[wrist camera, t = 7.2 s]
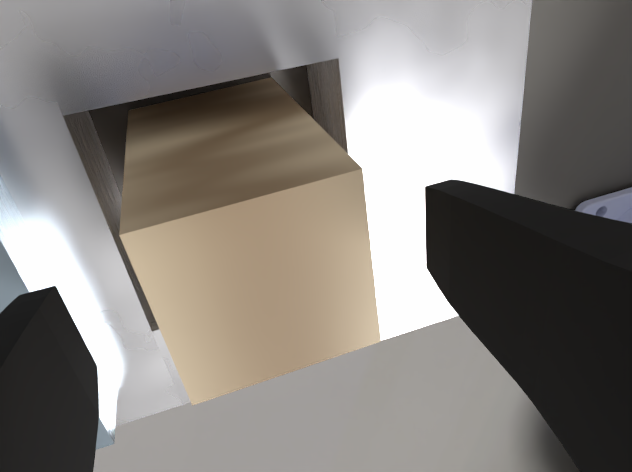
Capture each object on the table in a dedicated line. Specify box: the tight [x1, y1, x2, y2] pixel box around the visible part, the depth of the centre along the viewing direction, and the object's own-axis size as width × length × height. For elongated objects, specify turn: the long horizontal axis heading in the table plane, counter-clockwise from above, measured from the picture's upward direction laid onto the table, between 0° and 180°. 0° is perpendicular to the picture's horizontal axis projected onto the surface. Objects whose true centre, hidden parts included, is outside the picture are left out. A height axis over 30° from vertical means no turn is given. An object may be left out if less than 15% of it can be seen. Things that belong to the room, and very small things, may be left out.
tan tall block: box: [119, 77, 381, 406], centre depth 12 cm, size 4×4×7 cm
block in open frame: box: [0, 0, 532, 449], centre depth 13 cm, size 16×12×4 cm
